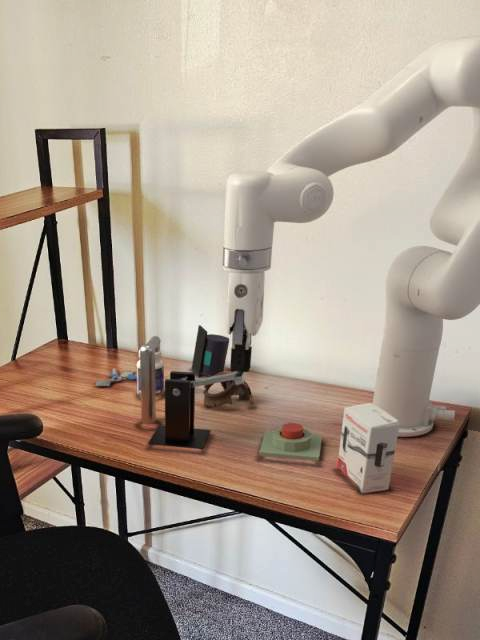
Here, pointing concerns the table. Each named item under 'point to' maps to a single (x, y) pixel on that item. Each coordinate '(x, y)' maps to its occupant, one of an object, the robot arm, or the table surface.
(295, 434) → the button
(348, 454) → the ink box
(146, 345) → the spout
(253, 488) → the table surface
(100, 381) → the key chain
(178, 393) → the black lever stand
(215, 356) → the speaker
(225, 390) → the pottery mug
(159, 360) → the pill bottle
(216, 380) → the tap lever
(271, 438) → the button housing
